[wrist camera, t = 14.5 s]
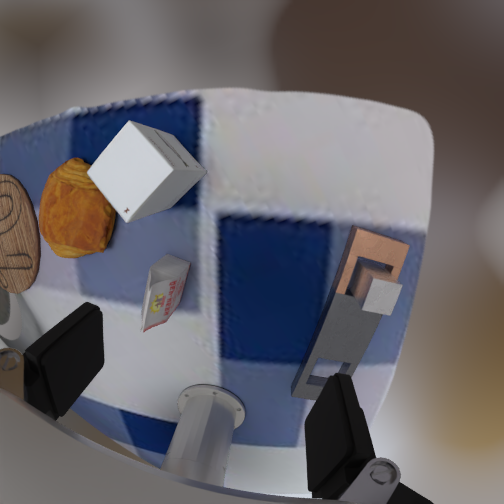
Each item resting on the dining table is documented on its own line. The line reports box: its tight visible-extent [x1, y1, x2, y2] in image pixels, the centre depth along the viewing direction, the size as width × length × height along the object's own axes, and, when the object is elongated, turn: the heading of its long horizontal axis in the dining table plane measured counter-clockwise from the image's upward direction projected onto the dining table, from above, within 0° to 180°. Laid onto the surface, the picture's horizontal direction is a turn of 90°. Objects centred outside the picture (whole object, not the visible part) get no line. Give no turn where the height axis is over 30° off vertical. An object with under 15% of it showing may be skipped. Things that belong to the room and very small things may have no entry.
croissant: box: [39, 158, 116, 258], centre depth 36 cm, size 14×16×8 cm
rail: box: [291, 225, 409, 400], centre depth 39 cm, size 28×8×2 cm, turn 166°
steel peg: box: [348, 258, 403, 315], centre depth 34 cm, size 4×4×8 cm
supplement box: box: [87, 121, 207, 223], centre depth 30 cm, size 7×7×13 cm
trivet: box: [0, 174, 41, 294], centre depth 41 cm, size 25×25×2 cm
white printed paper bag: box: [141, 254, 191, 332], centre depth 35 cm, size 4×7×10 cm, turn 161°
